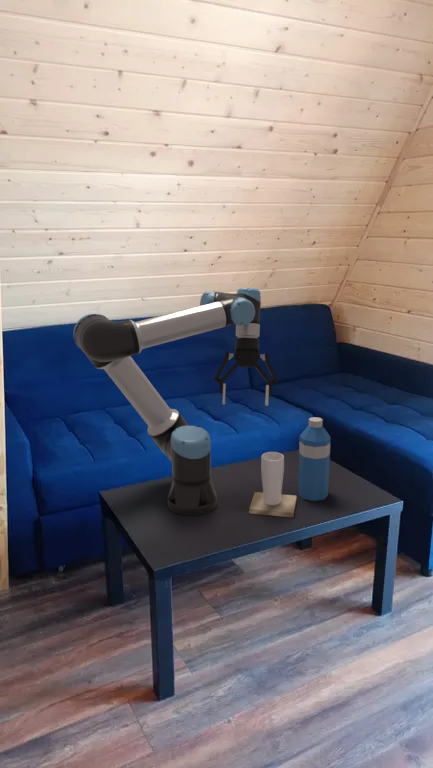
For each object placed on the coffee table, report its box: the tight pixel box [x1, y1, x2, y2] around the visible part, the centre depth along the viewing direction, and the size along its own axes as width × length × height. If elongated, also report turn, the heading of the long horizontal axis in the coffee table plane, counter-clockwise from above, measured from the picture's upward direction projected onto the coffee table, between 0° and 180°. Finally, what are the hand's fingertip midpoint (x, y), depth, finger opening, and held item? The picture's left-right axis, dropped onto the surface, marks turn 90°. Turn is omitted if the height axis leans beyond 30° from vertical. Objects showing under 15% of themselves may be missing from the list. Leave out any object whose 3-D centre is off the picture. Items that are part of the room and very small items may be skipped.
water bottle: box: [297, 416, 332, 502], centre depth 180 cm, size 9×9×25 cm
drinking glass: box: [260, 451, 285, 505], centre depth 174 cm, size 7×7×15 cm
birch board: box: [248, 491, 298, 518], centre depth 176 cm, size 13×11×2 cm
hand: (245, 404), depth 185 cm, fingers open, 13 cm apart
